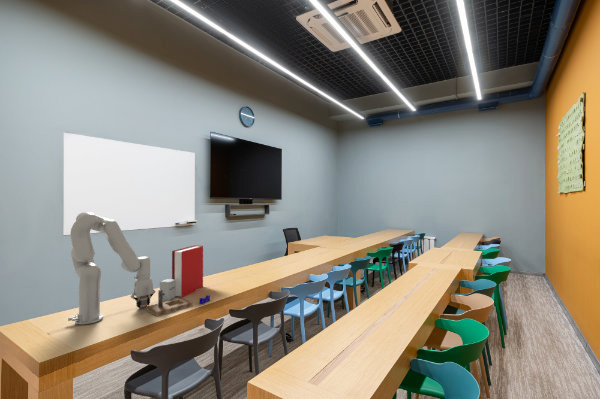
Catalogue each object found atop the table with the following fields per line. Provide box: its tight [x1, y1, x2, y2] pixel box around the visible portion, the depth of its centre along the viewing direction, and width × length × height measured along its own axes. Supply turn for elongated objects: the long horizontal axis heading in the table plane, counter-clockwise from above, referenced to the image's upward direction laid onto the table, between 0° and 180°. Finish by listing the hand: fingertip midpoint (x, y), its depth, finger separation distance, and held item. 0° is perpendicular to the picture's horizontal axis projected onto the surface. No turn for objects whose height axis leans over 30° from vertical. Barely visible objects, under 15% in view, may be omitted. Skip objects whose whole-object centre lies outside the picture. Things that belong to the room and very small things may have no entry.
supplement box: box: [159, 278, 176, 302], centre depth 204 cm, size 7×7×13 cm
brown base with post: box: [146, 289, 193, 317], centre depth 186 cm, size 22×14×12 cm, turn 138°
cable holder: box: [199, 294, 211, 305], centre depth 197 cm, size 8×4×4 cm, turn 160°
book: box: [171, 244, 204, 298], centre depth 221 cm, size 27×8×32 cm, turn 166°
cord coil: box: [138, 295, 149, 310], centre depth 187 cm, size 5×5×8 cm
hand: (143, 305), depth 187 cm, fingers closed on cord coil, 4 cm apart
